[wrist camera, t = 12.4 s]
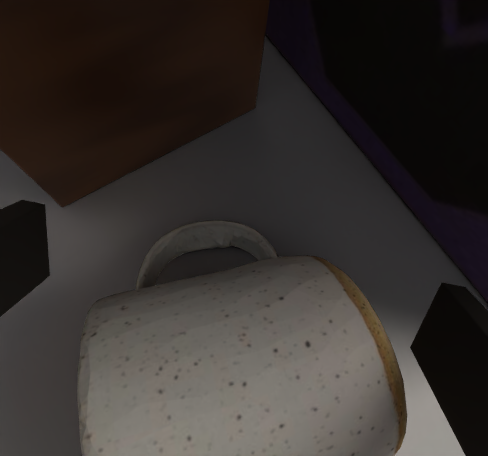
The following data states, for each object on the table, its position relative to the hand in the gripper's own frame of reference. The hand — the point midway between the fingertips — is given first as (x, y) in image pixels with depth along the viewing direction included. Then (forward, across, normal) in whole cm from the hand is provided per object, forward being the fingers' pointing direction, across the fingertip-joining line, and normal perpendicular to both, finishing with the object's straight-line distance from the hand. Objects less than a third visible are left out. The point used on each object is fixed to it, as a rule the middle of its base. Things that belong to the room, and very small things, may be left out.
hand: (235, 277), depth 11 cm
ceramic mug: (+2, 0, -5) cm, 5 cm away
